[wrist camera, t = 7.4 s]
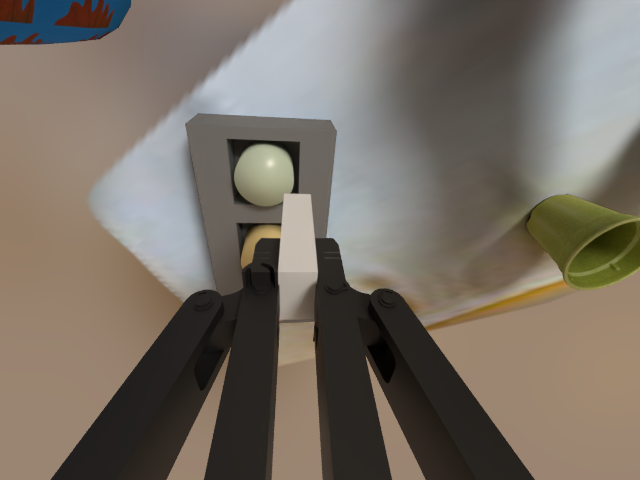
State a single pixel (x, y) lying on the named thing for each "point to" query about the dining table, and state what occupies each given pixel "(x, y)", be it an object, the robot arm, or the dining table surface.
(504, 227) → the dining table surface
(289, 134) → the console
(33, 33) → the thermos
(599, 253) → the plant pot
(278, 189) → the sage button
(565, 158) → the dining table surface
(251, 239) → the ochre button
